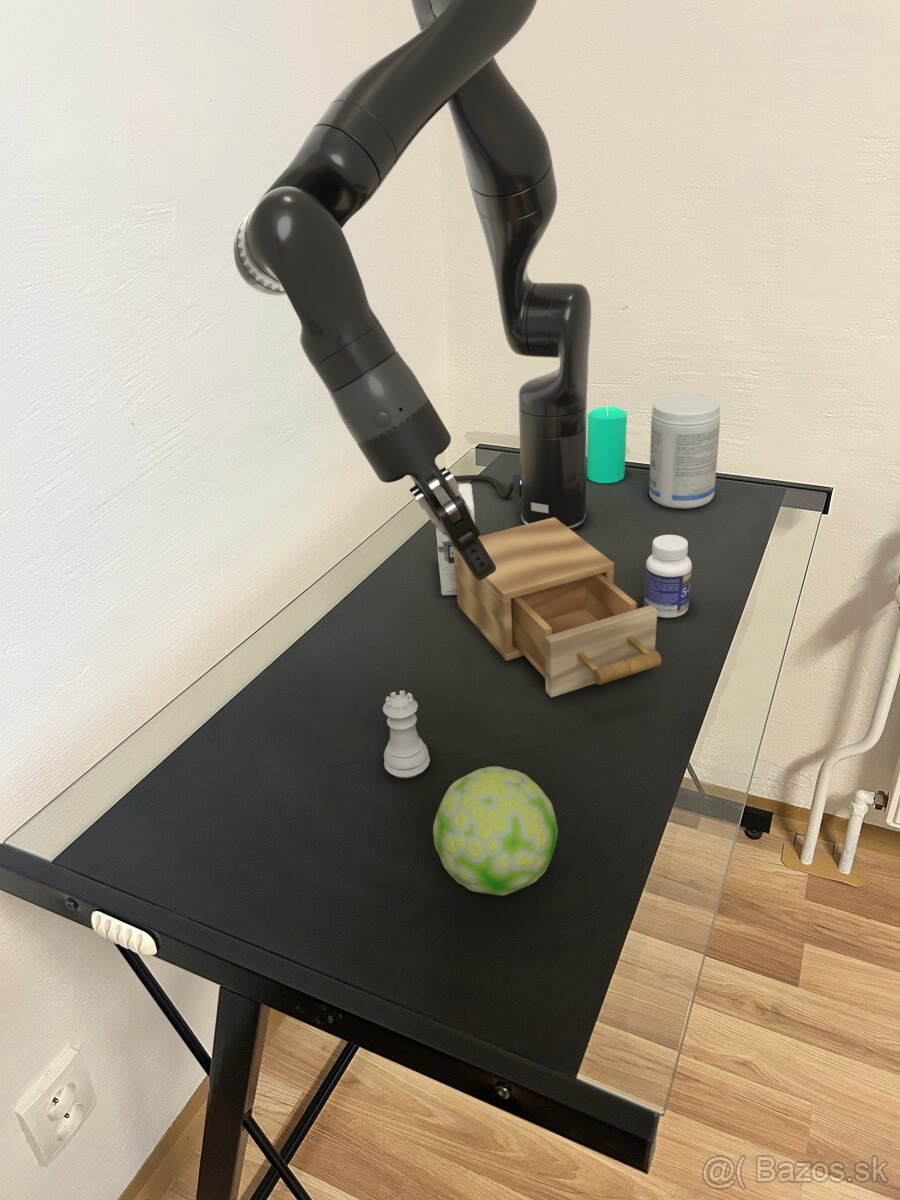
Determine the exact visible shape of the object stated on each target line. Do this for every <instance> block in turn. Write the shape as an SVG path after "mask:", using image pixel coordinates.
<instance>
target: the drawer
mask: <svg viewBox="0 0 900 1200" xmlns="http://www.w3.org/2000/svg"><path fill="white" fill-rule="evenodd" d="M511 615H512V642H513V644H514V645H515V646H516V647H517V648H518V649H519V651H520V652H521V653H522V654H523V655H524V656H523V657H525V658H526V660H527V661H529V663H530V664H531V665H532V666H533V667H534V668H535V670H537V672H539V673H540V675H541V676H542V677H543V678H544V679H545V692H546V694H547V695H548V696H549V697H550V698H554V697H558V696H560V695H564V694H567V693H569V692H573V691H576V690H579V689H582V688H585V687H588V686H591V685H594V684H596V686H602V685H604V684H607V683H611V682H613V681H616V680H620V679H623V678H626V677H629V676H633V675H635V674H638V673H642V672H644V671H647V670H650V669H654V668H656V667H660V666H661V665H662V657H661V654H660V652H658V650H656V640H657V625H658V624H657V623H658V617H657V609H656V608H654V607H653V606H652V605H649V606H645V607H644V606H643V607H639V608H637V602H636V601H635V600H634V599H633V598H631V596H629V595H628V594H627V593H625V592H624V591H623V590H622V589H620V587H618V586H617V585H616V584H614V582H613V583H612V582H610V581H609V580H608V579H607V578H605V577H604V576H603V575H602V574H597V575H594V576H590V577H587V578H583V579H579V580H576V581H572V582H569V583H565V584H562V585H558V586H555V587H551V588H548V589H544V590H541V591H537V592H533V593H530V594H526V595H523V596H519V597H516V598H512V599H511Z"/></svg>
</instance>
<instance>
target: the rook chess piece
mask: <svg viewBox="0 0 900 1200" xmlns="http://www.w3.org/2000/svg"><path fill="white" fill-rule="evenodd" d="M389 695H390V696H386V697H385V702H384V703H383V706H382V711H383V714H384V715H386V716H387V720H386V724H387V726H388V727H389V741H388V742H387V745H386V747H385V749H384V752H383V759H384V761H383V765H384V769H385V770H386V772H388V773H389V774H390V775H391V776H393V777H396V778H398V779H411V778H412V779H413V778H415V777H417V776H419V775H421V774H422V773H423V772H424V771H425V770H426V769H427V768H428V767H429V764H430V762H431V757H430V754H429V749H428V747H427V745H426V743H424V741H423V739H422V738H421V737H420V736H419V734H418V731H417V727H416V723H417V720H418V718H417V715H416V714H415V713H416V712H417V711H418V707H419V705H418V702H417V701H416V700H415V699H414V698H413V694H412V693H410V692H408V693H406V690H399V694H396V691H393V692H391V693H389Z"/></svg>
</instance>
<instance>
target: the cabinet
mask: <svg viewBox="0 0 900 1200" xmlns="http://www.w3.org/2000/svg"><path fill="white" fill-rule="evenodd" d="M478 538H479V539H480V541H481V543H482V544H483V546H484V548H485V549H486V551H487V553H488V554H489V556H490V558H491V559H492V561H493V563H494V564H495V566H496V570H495V572H494V573H492V574H490V575H489V576H487V577H486V578H484V579H483V580H477V579H476V578H475V577H474V575H473V574H472V573H471V571H470V569H469V568H468V566H467V565H466V563H465V561H464V560H463V558H462V556H461V555H460V553H459V552H458V551H457V549H456V548H454V547H453V548H454V561H455V575H456V588H457V595H456V599H457V600H456V601H457V606H458V607H459V609H460V610H461V611H462V612H463V613H464V615H466V617H467V618H468V619H469V620H470V621H471V622H472V624H474V626H475V627H476V628H477V629H478V631H480V633H481V634H482V635H483V636H484V637H485V639H487V641H488V642H489V643H490V644H491V646H493V647H494V649H495V650H496V651H497V652H498V653H499V654H500V656H502V658H503V659H504V660H505V661H506V662H508V661H511V660H513V659H517V658H520V657H521V658H522V657H525V656H524V655H523V654H522V653H521V652H520V651H519V649H518V648H517V647H516V646H515V645H514V644H513V642H512V615H511V599H512V598H516V597H519V596H523V595H526V594H530V593H533V592H537V591H541V590H544V589H548V588H551V587H555V586H558V585H562V584H565V583H569V582H572V581H576V580H579V579H583V578H587V577H590V576H594V575H597V574H602V575H603V576H604V577H605V578H607V579H608V580H609V581H610V582H612V583H613V584H614V576H615V575H614V574H615V563H614V562H613V561H612V560H610V559H609V558H608V557H607V556H605V555H604V554H603V553H602V552H601V551H599V550H597V548H595V547H594V546H593V545H591V544H590V543H589V542H587V541H586V540H585V539H583V538H582V537H581V536H579V535H578V534H577V533H576V532H575V531H574V530H570V529H569V528H568V527H566V526H565V525H564V524H563V523H561V522H560V521H559V520H557V519H556V518H555V517H553V518H549V519H545V520H541V521H538V522H534V523H530V524H526V525H523V524H522V525H517V526H515V527H510V528H506V529H503V530H499V531H494V532H491V533H487V534H482V535H480V536H479V537H478Z"/></svg>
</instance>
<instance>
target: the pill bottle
mask: <svg viewBox="0 0 900 1200" xmlns="http://www.w3.org/2000/svg"><path fill="white" fill-rule="evenodd" d="M651 550H652V552H651V555H649V556H648V558H647V559H646V562H645V577H644V579H645V581H644V595H643V598H644V599H643V607H645V606H649V605H652V606H653V607H654V608H656V609H657V618H663V619H672V618H678V617H681V616H683V615H684V614H685V613H687V612H688V610H689V605H690V592H691V581H692V580H691V579H692V571H693V563H692V561H691V559H690V557H689V556H688V552H689V542H688V540H687V539H686V538H685V537H683V536H680V535H677V534H663V535H658V536H657V537H655V538H653V540H652V546H651Z"/></svg>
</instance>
